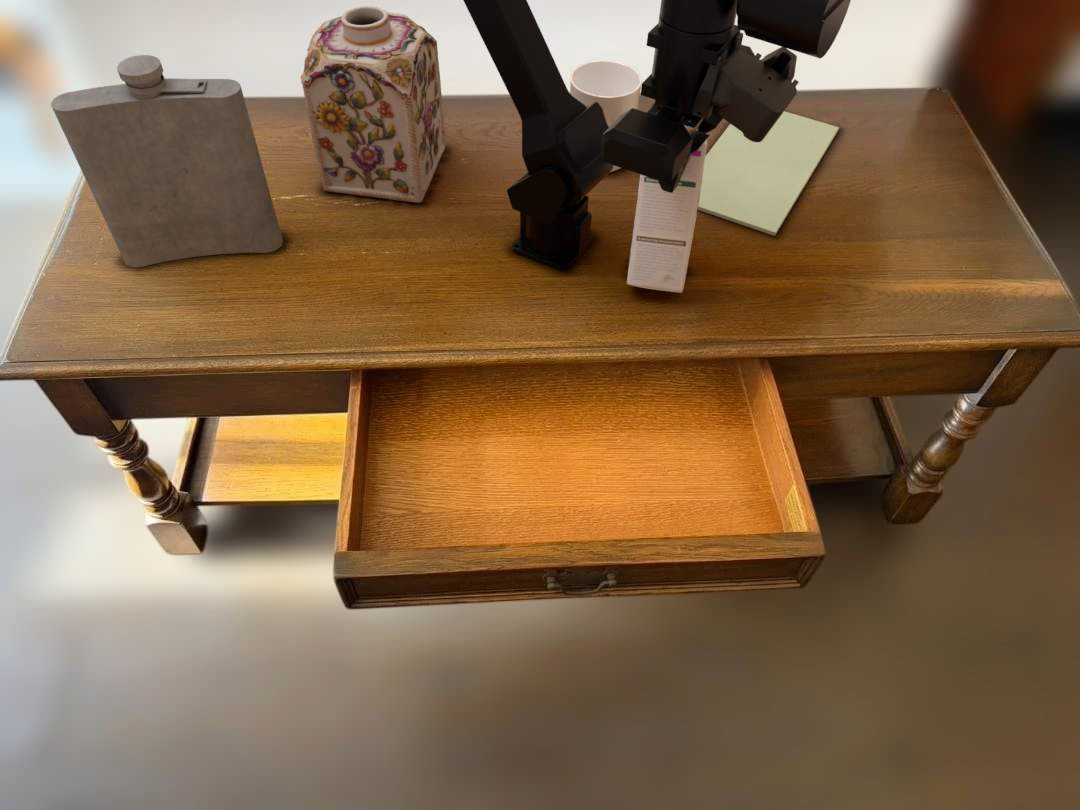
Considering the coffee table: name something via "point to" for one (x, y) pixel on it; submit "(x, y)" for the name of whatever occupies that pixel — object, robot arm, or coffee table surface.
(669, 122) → the robot arm
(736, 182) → the paper notepad
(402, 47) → the decorative jar
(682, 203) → the syrup box
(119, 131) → the hip flask
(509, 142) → the coffee table surface
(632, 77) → the white cup
